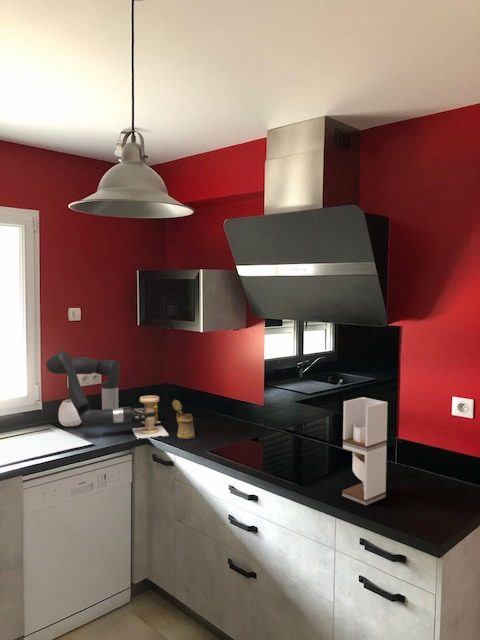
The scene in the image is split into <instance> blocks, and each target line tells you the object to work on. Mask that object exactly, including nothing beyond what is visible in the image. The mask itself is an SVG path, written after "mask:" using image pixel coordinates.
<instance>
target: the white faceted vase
mask: <svg viewBox="0 0 480 640" xmlns="http://www.w3.org/2000/svg"><path fill="white" fill-rule="evenodd" d="M57 416H58V422H59V423H60V424H61V425H62V426H64V427H77V426H79V425H81V424H83V423H82V422H81V420H80V417H79V415H78V413H77V410H76V408H75V407H74V405H73V403H72V401H71V399H70V398H68V399H65V400H62V402H61V404H60V406H59V408H58V415H57Z"/></svg>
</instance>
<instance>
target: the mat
mask: <svg viewBox="0 0 480 640" xmlns="http://www.w3.org/2000/svg"><path fill="white" fill-rule="evenodd" d="M155 427H156V428H158V429H159V432H157V433H155V434H143V433H141V429H142V428H145V426H144V427H143V426H142V427H134V428H131V429H132V432H133V434H134V435H135V437H137V438H136V439H137V440H140V439H139V438H141V439H149V438H151V437H152V438H159V437H158V436H162V437H168V436H170V434H169V433H168V432H167V430H166V429H165V428H164V427H163V425H156V426H155Z"/></svg>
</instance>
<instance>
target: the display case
mask: <svg viewBox="0 0 480 640" xmlns="http://www.w3.org/2000/svg"><path fill="white" fill-rule="evenodd" d="M342 414H343V420H342V422H343V423H342V425H343V426H342V429H343V430H342V449H344V450H347V451H351V452H352V472H353V474H354V475H355V476H356V477H357V479H359V480H360V481H361V482H360V483H359V484H356V485H352V486H350V487H348V488H345V489H343V490H342V491H341V492H342V493H341V495H342V497H344V498H346V499H349V500H352V501H354V502H357V503H359V504H361V505H364V506H368V505H370V504H373V503H376V502H377V501H379V500H382V499H384V498H386V495H387V494H386V492H387V491H386V490H387V488H386V487H387V485H386V484H387V445H388V442H387V441H388V401H383V400H380V399H379V400H377V399H373V398H369V397H365V396H362V397H357V398H353V399H349V400H344V401H343V413H342Z"/></svg>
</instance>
